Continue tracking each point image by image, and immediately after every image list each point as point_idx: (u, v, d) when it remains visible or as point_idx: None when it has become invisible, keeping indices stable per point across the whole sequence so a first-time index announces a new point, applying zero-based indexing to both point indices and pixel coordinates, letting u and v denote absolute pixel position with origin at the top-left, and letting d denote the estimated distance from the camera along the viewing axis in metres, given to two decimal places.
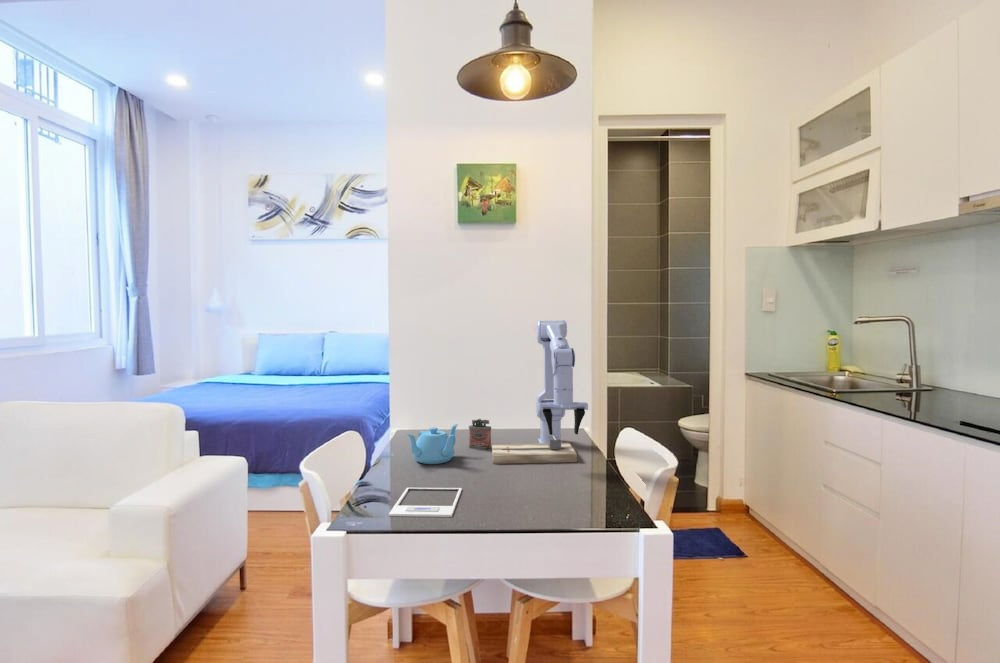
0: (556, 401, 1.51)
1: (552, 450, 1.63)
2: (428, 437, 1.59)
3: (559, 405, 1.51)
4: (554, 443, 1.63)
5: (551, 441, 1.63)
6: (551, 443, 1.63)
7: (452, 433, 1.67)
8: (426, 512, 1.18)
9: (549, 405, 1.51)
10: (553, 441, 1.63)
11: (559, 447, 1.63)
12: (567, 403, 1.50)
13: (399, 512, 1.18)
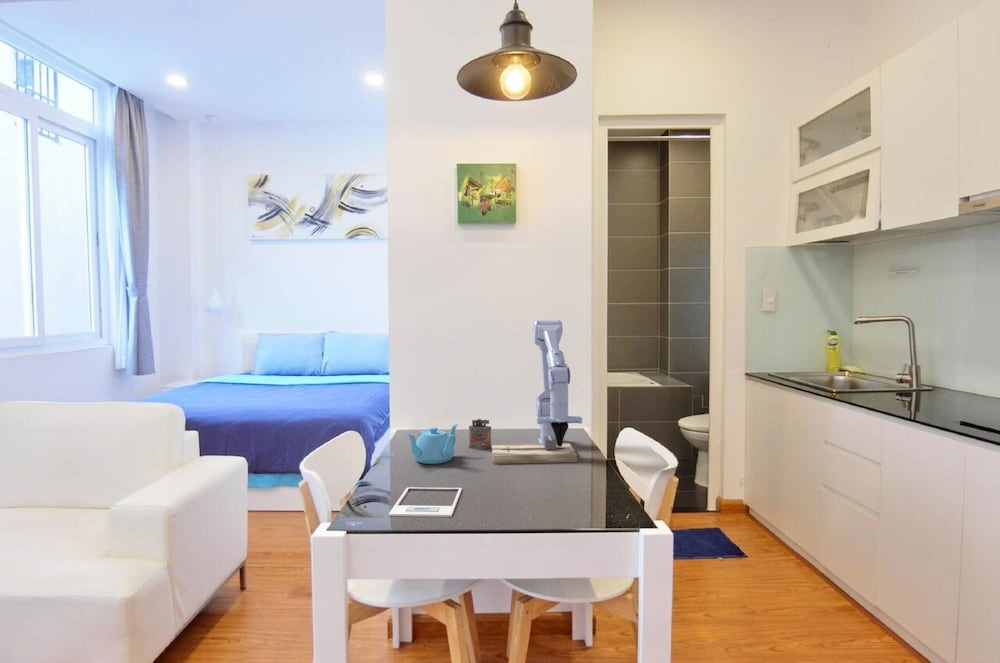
0: (553, 416, 1.63)
1: (552, 450, 1.63)
2: (428, 437, 1.59)
3: (555, 419, 1.63)
4: (549, 443, 1.63)
5: (546, 441, 1.63)
6: (546, 443, 1.63)
7: (452, 433, 1.67)
8: (426, 512, 1.18)
9: (546, 419, 1.64)
10: (548, 441, 1.63)
11: (554, 447, 1.63)
12: (563, 417, 1.63)
13: (399, 512, 1.18)
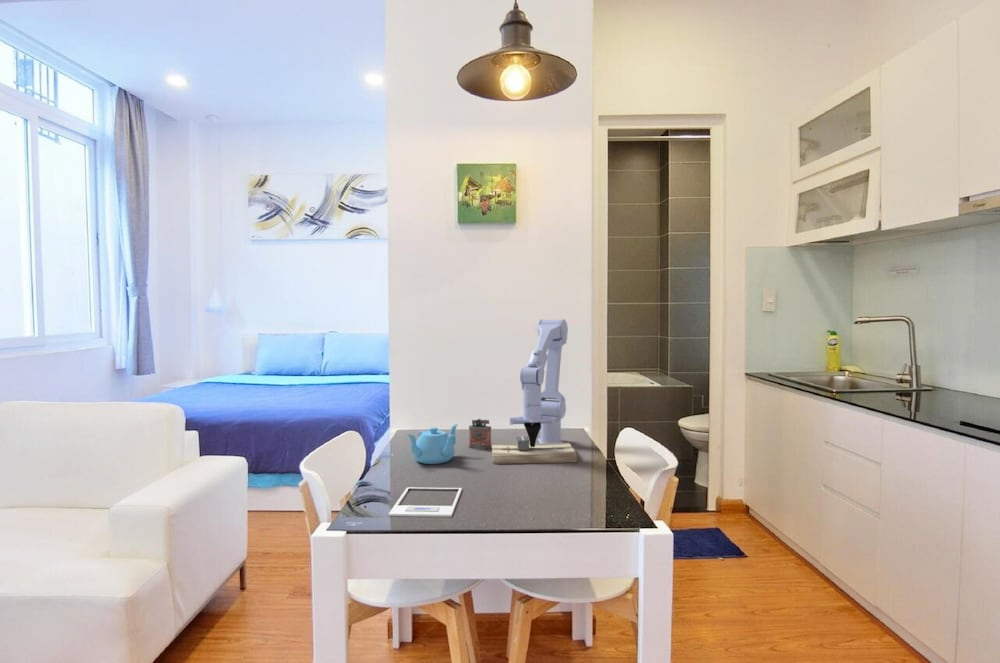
0: (526, 416, 1.63)
1: (552, 450, 1.63)
2: (428, 437, 1.59)
3: (527, 419, 1.63)
4: (522, 444, 1.63)
5: (519, 442, 1.63)
6: (519, 444, 1.63)
7: (452, 433, 1.67)
8: (426, 512, 1.18)
9: (519, 420, 1.63)
10: (521, 442, 1.63)
11: (527, 448, 1.63)
12: (535, 418, 1.62)
13: (398, 512, 1.18)
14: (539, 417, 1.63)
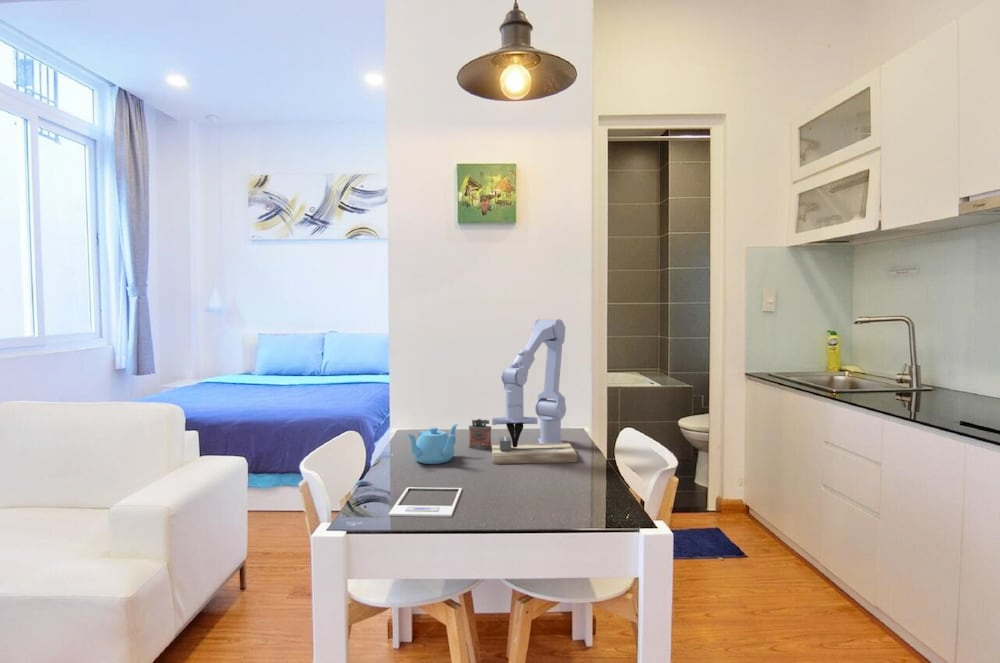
0: (508, 417, 1.63)
1: (552, 450, 1.63)
2: (428, 437, 1.59)
3: (509, 420, 1.62)
4: (504, 444, 1.62)
5: (501, 442, 1.62)
6: (501, 444, 1.62)
7: (452, 433, 1.67)
8: (426, 512, 1.18)
9: (501, 420, 1.63)
10: (503, 442, 1.62)
11: (509, 448, 1.63)
12: (517, 418, 1.62)
13: (398, 512, 1.18)
14: (521, 417, 1.63)
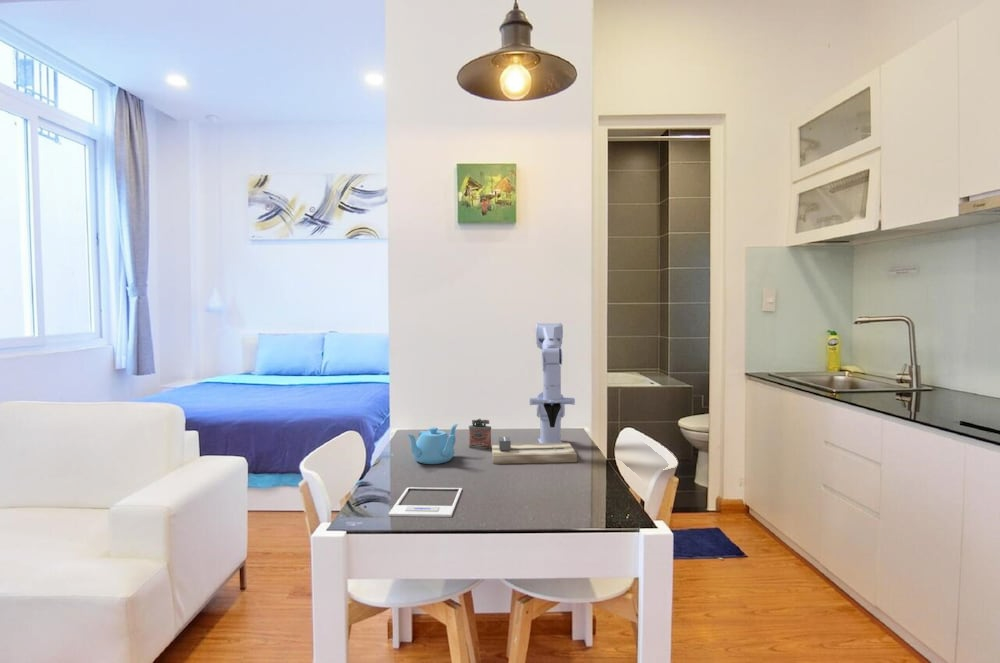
0: (545, 397, 1.64)
1: (552, 450, 1.63)
2: (428, 437, 1.59)
3: (547, 400, 1.64)
4: (503, 444, 1.62)
5: (500, 442, 1.62)
6: (500, 444, 1.62)
7: (452, 433, 1.67)
8: (426, 512, 1.18)
9: (538, 400, 1.65)
10: (502, 442, 1.62)
11: (509, 448, 1.63)
12: (555, 398, 1.64)
13: (398, 512, 1.18)
14: (559, 398, 1.64)
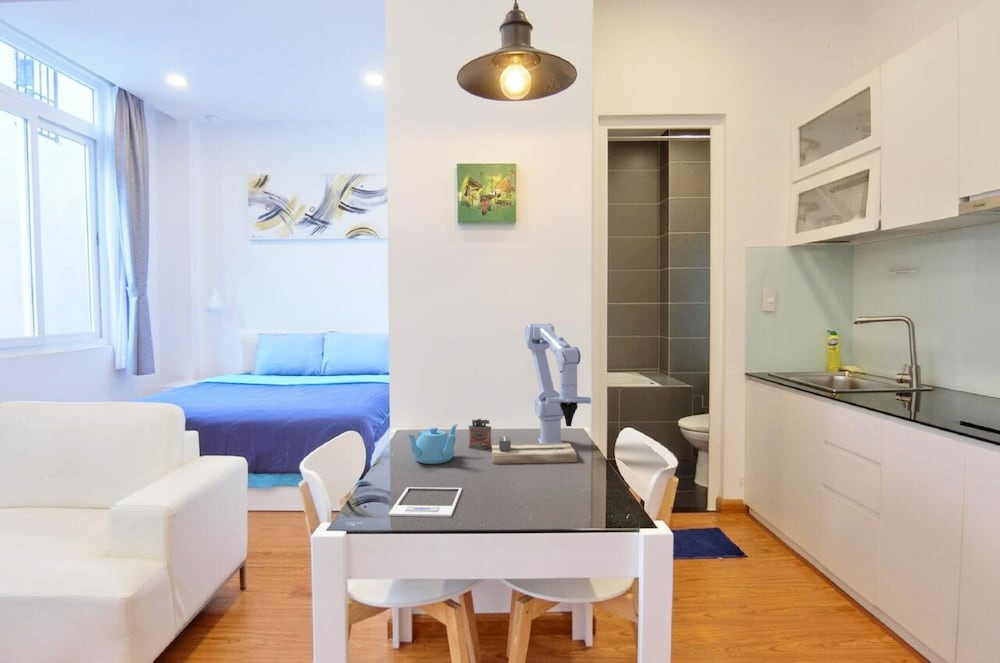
0: (562, 396, 1.65)
1: (552, 450, 1.63)
2: (428, 437, 1.59)
3: (564, 399, 1.65)
4: (503, 444, 1.62)
5: (500, 442, 1.62)
6: (500, 444, 1.62)
7: (452, 433, 1.67)
8: (426, 512, 1.18)
9: (555, 399, 1.66)
10: (502, 442, 1.62)
11: (509, 448, 1.63)
12: (572, 397, 1.65)
13: (398, 512, 1.18)
14: (575, 397, 1.66)
